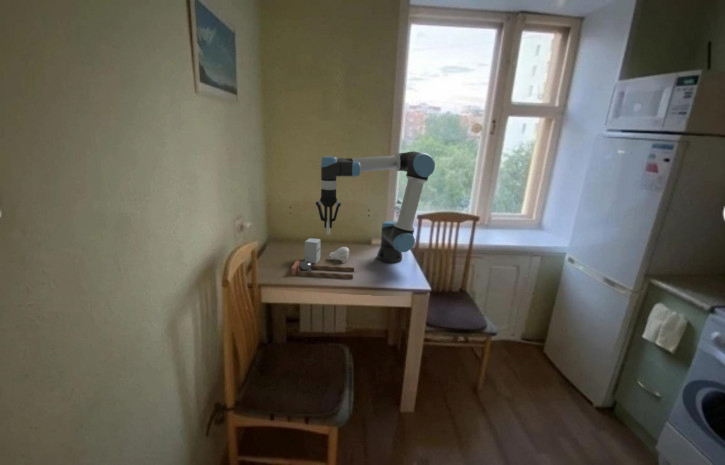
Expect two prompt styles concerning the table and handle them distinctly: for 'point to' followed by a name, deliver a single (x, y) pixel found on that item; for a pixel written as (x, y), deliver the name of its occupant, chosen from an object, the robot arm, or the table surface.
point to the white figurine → (340, 254)
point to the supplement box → (312, 250)
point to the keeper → (305, 266)
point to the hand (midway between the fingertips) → (328, 233)
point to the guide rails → (321, 274)
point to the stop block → (295, 267)
